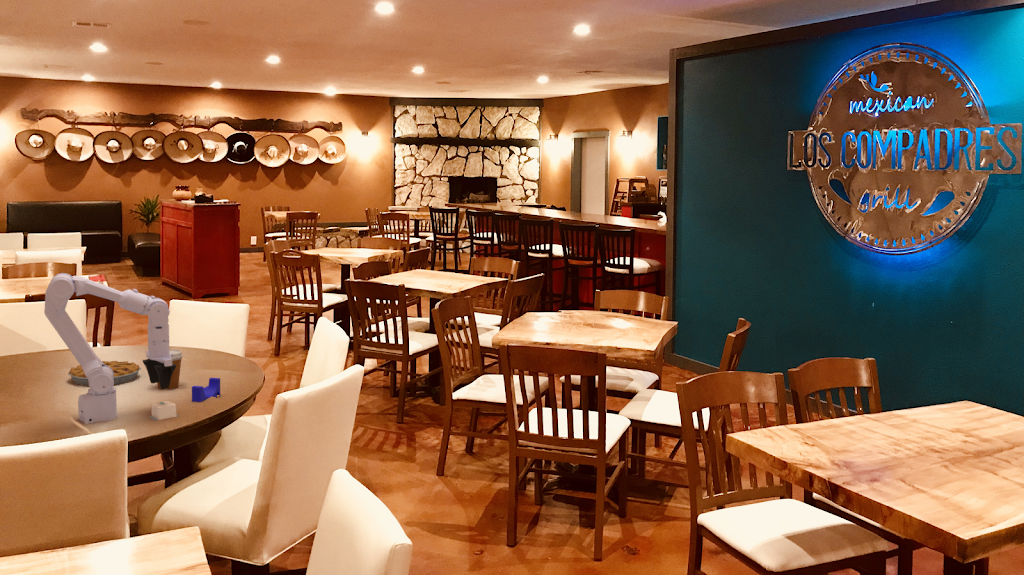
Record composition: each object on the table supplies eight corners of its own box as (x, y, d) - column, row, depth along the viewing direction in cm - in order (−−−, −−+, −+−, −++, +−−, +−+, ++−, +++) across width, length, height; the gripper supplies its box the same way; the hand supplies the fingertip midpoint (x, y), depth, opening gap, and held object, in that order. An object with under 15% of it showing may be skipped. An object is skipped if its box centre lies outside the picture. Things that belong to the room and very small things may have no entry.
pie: (105, 390, 262) (104, 376, 262) (53, 383, 269) (53, 368, 269) (154, 376, 283) (154, 362, 282) (105, 369, 290) (105, 355, 289)
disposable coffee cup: (164, 382, 274) (163, 348, 273) (189, 384, 272) (188, 350, 271) (146, 389, 265) (145, 354, 263) (172, 392, 263) (171, 356, 262)
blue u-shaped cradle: (207, 395, 262) (207, 377, 261) (220, 396, 261) (220, 378, 260) (187, 405, 250) (187, 386, 249) (201, 406, 249) (200, 387, 249)
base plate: (155, 424, 230) (155, 420, 230) (148, 420, 233) (148, 416, 233) (179, 420, 235) (179, 416, 235) (172, 416, 238) (172, 412, 238)
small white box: (176, 416, 234) (175, 404, 233) (159, 420, 230) (158, 407, 230) (168, 412, 237) (168, 400, 237) (151, 416, 234) (151, 403, 233)
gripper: (182, 342, 232) (183, 388, 234) (162, 334, 242) (163, 378, 244) (157, 345, 227) (158, 392, 229) (138, 337, 237) (139, 381, 239)
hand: (159, 385), depth 236 cm, fingers open, 7 cm apart
